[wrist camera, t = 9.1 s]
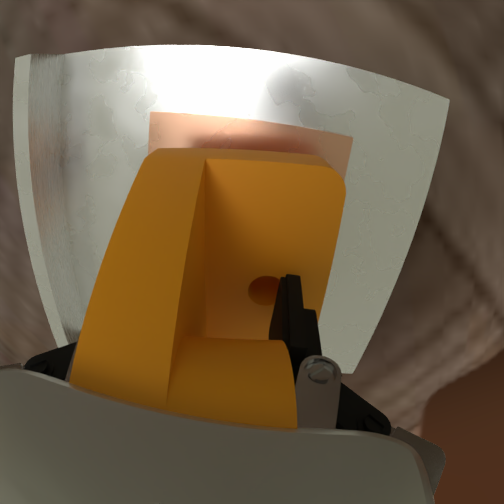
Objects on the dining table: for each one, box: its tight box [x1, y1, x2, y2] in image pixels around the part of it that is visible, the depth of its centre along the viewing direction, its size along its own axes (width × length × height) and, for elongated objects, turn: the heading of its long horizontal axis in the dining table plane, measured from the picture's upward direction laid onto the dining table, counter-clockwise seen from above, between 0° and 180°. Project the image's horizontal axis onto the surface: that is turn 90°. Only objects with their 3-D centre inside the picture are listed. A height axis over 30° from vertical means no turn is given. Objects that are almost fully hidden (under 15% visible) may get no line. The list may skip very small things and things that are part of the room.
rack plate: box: [13, 45, 450, 374], centre depth 17 cm, size 22×20×4 cm
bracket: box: [69, 148, 346, 429], centre depth 10 cm, size 11×7×12 cm, turn 176°
